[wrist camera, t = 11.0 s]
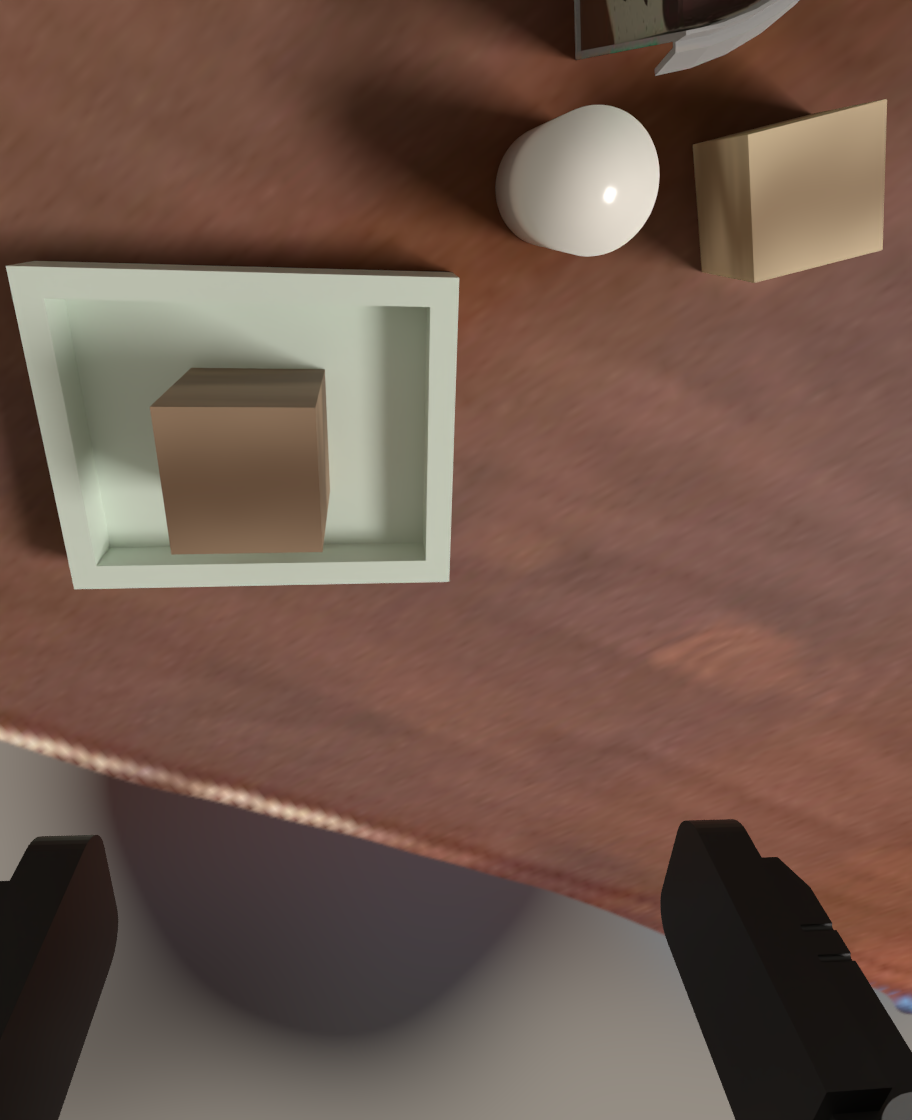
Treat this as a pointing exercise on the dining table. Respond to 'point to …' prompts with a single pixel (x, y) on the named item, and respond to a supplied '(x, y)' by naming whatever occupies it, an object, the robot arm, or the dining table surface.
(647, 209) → the ceramic shaker
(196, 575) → the tray
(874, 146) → the oak cube
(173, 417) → the walnut block
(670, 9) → the food container
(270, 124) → the dining table surface
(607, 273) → the dining table surface
